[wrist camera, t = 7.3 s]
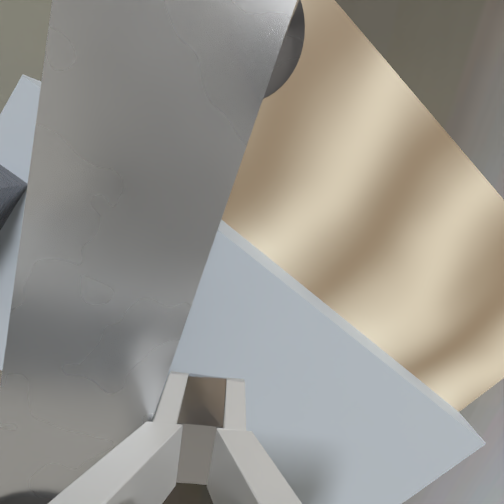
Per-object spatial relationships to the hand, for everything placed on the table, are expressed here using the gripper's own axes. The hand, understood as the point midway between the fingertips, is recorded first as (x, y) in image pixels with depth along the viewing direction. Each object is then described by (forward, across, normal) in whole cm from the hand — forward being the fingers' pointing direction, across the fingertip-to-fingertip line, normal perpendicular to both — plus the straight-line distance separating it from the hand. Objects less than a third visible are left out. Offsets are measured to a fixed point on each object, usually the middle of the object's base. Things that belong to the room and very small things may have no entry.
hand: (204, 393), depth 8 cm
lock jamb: (+8, -3, 0) cm, 9 cm away
